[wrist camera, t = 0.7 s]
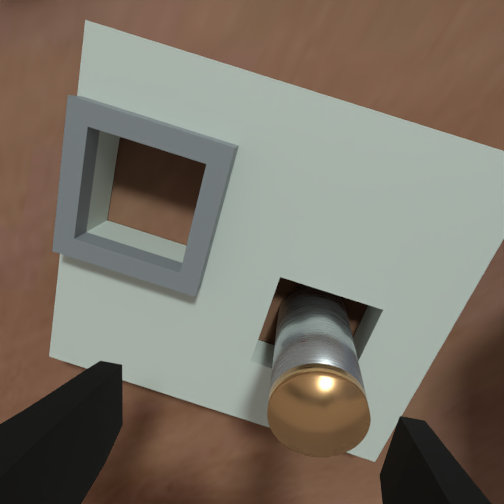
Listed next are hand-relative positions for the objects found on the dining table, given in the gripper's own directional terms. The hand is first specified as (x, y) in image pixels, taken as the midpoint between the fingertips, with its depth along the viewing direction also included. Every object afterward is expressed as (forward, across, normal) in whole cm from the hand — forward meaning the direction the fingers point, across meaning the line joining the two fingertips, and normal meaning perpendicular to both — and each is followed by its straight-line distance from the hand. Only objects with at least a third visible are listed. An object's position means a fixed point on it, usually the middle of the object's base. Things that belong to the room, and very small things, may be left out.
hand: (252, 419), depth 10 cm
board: (+10, +1, 0) cm, 10 cm away
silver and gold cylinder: (+10, -2, +2) cm, 10 cm away
